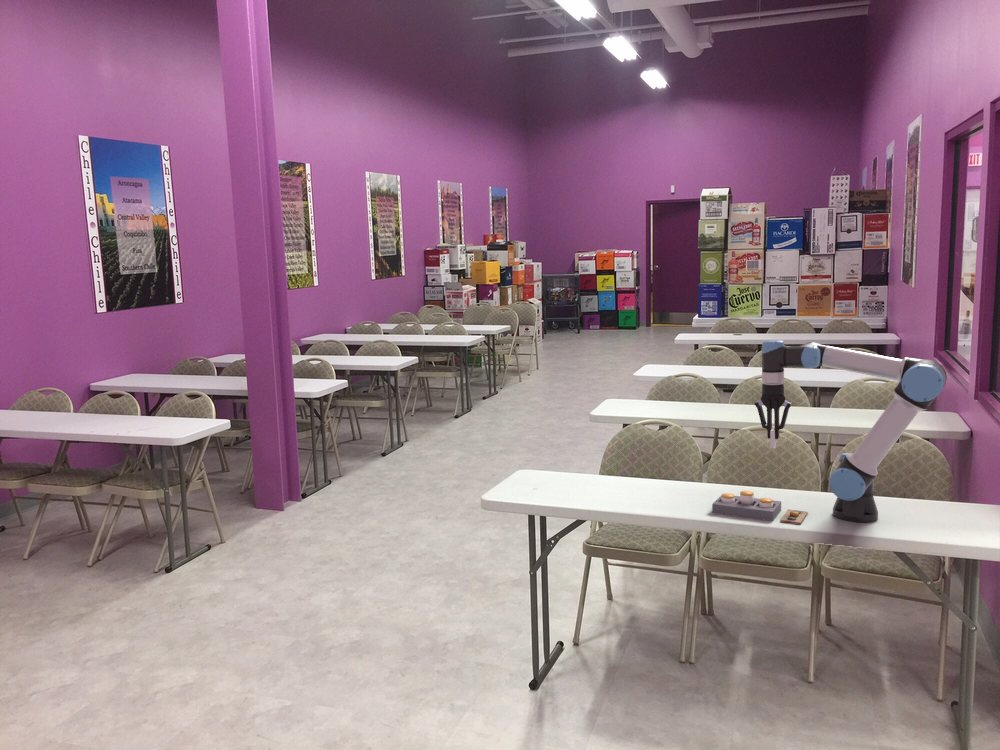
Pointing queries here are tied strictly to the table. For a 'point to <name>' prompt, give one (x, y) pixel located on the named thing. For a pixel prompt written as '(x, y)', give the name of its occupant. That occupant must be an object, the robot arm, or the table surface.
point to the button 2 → (766, 502)
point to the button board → (746, 509)
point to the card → (794, 516)
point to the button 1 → (728, 498)
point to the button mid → (747, 498)
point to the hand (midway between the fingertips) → (773, 447)
